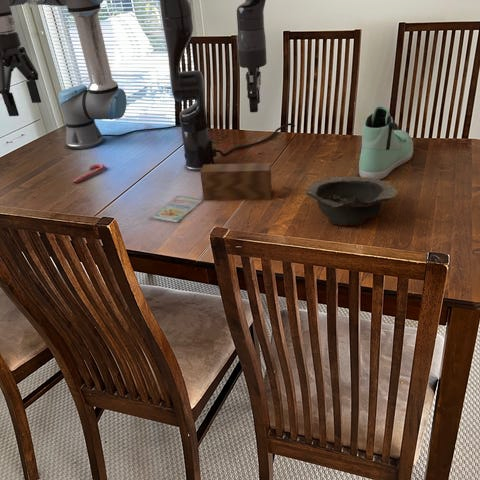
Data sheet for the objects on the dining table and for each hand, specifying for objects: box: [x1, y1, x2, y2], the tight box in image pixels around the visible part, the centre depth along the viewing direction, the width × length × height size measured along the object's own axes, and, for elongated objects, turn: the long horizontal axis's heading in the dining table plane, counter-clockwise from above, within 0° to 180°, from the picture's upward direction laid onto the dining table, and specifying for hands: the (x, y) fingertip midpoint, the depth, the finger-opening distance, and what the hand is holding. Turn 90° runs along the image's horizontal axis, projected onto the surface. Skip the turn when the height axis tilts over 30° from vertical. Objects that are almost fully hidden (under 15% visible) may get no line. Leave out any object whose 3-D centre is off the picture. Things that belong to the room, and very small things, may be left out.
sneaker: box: [358, 105, 414, 180], centre depth 160 cm, size 14×35×20 cm, turn 152°
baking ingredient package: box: [151, 196, 203, 223], centre depth 146 cm, size 9×1×15 cm
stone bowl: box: [304, 175, 398, 227], centre depth 135 cm, size 25×25×9 cm
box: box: [199, 162, 273, 201], centre depth 149 cm, size 21×6×10 cm, turn 84°
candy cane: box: [73, 163, 106, 184], centre depth 174 cm, size 6×15×2 cm, turn 145°
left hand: (25, 109), depth 144 cm, fingers open, 13 cm apart
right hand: (255, 107), depth 136 cm, fingers open, 8 cm apart
